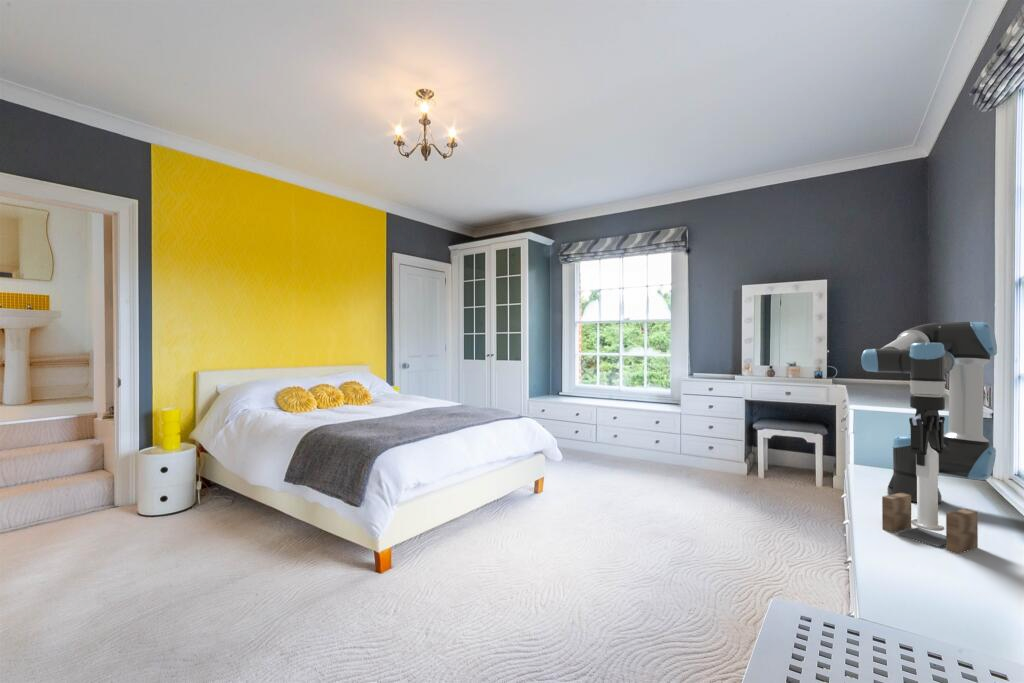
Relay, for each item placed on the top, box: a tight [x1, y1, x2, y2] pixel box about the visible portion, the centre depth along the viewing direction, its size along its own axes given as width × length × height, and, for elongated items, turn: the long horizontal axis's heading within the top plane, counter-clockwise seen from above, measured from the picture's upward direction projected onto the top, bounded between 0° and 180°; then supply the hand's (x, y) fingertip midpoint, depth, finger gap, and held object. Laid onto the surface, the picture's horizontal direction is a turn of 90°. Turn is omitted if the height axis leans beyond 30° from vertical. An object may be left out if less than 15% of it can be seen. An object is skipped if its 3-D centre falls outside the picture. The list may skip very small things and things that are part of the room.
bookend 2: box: [945, 508, 979, 554], centre depth 127 cm, size 10×2×10 cm, turn 113°
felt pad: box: [896, 526, 946, 549], centre depth 134 cm, size 11×10×1 cm
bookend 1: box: [881, 493, 912, 533], centre depth 142 cm, size 10×2×10 cm, turn 113°
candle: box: [911, 441, 945, 532], centre depth 135 cm, size 7×7×25 cm
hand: (927, 475), depth 135 cm, fingers closed on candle, 4 cm apart
